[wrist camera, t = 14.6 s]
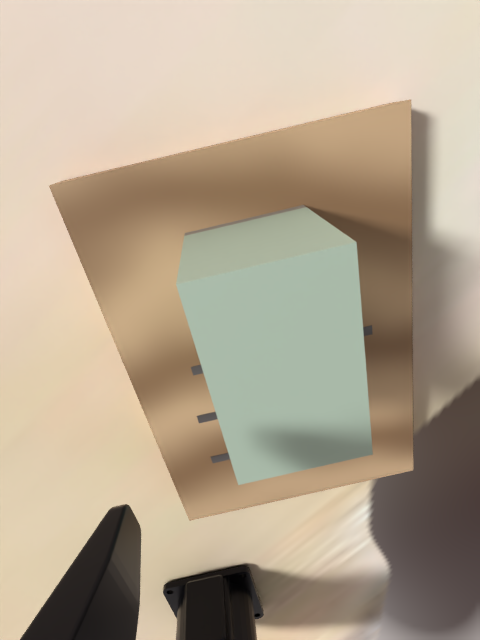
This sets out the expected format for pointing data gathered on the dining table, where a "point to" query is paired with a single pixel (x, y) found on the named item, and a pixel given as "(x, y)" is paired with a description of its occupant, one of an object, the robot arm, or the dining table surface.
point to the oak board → (232, 205)
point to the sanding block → (279, 340)
